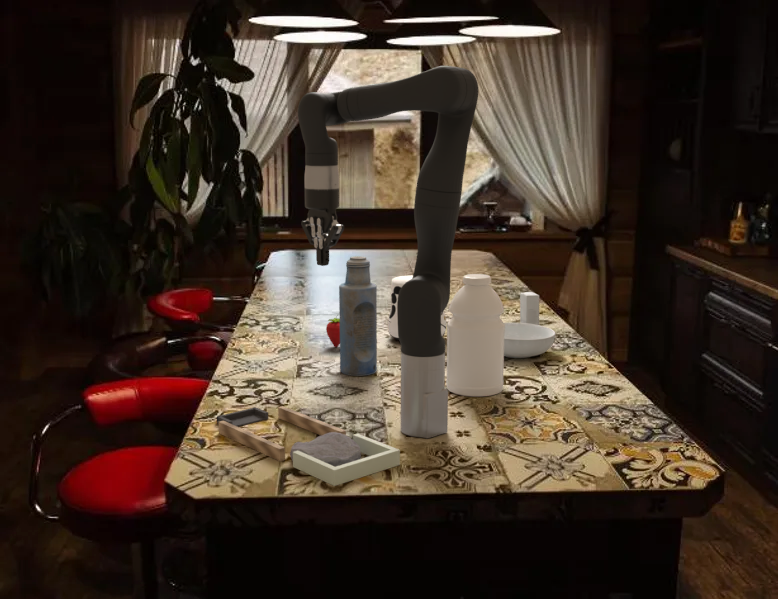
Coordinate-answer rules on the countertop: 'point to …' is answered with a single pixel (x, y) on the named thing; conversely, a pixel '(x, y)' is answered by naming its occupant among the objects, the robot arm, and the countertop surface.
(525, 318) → the skincare box
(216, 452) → the countertop surface
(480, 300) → the bottle
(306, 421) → the channel
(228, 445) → the countertop surface
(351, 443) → the stone block
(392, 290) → the milk container
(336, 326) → the strawberry
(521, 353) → the serving bowl
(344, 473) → the u-shaped green frame
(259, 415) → the dark gray shallow tray
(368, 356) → the bottle
